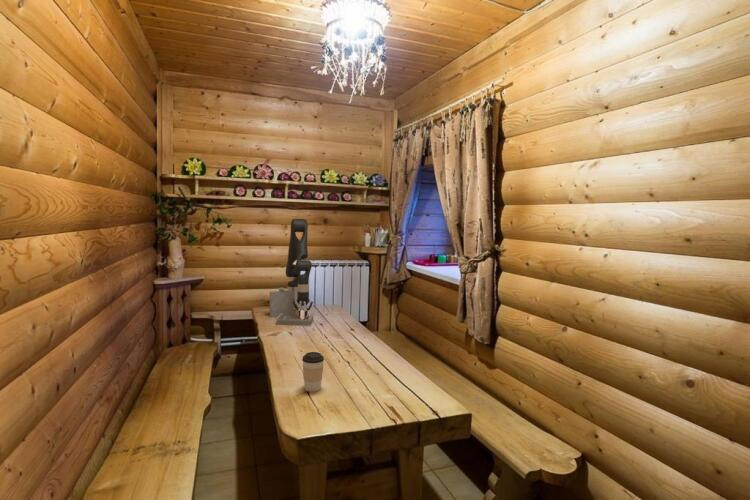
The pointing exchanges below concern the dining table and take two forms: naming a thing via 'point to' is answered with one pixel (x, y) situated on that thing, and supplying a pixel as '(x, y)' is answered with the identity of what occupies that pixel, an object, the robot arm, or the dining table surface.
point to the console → (294, 320)
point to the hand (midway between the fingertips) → (302, 316)
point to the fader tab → (302, 314)
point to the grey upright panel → (281, 303)
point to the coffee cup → (312, 371)
